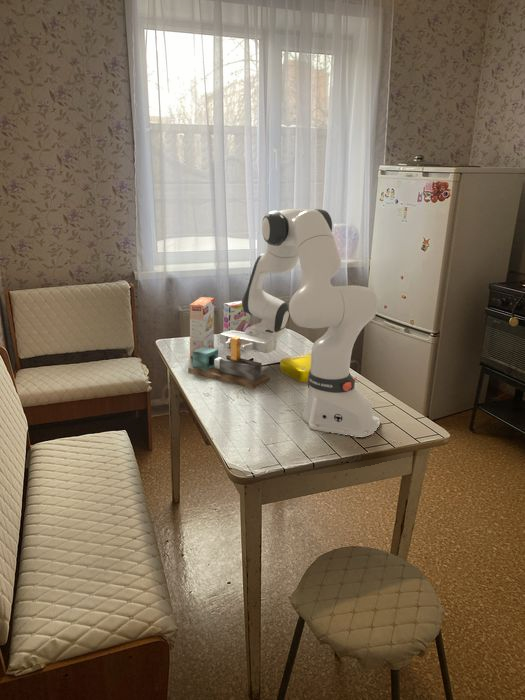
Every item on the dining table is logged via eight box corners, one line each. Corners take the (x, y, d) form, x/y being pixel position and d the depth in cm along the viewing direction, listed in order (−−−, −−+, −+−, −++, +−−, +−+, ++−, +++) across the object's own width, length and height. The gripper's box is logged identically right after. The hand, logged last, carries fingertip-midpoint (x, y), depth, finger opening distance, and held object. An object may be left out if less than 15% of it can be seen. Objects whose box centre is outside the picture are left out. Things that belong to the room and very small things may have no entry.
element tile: (310, 363, 199) (311, 351, 197) (336, 376, 187) (337, 364, 185) (277, 370, 191) (278, 358, 190) (302, 384, 179) (302, 371, 178)
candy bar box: (229, 344, 218) (229, 305, 213) (222, 341, 222) (222, 303, 217) (250, 339, 225) (251, 302, 220) (243, 336, 229) (244, 299, 223)
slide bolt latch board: (269, 379, 181) (270, 359, 179) (254, 389, 173) (254, 367, 171) (205, 363, 195) (205, 344, 192) (188, 371, 187) (187, 351, 184)
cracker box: (204, 358, 200) (203, 305, 194) (189, 357, 201) (188, 304, 195) (215, 347, 213) (214, 297, 207) (200, 346, 214) (200, 296, 208)
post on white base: (247, 371, 181) (247, 338, 177) (242, 374, 179) (243, 341, 175) (219, 365, 187) (219, 332, 183) (214, 367, 184) (214, 334, 181)
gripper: (232, 324, 193) (209, 332, 182) (280, 333, 183) (259, 343, 172) (232, 340, 195) (209, 350, 184) (279, 350, 185) (259, 361, 174)
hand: (234, 346), depth 178 cm, fingers open, 5 cm apart
